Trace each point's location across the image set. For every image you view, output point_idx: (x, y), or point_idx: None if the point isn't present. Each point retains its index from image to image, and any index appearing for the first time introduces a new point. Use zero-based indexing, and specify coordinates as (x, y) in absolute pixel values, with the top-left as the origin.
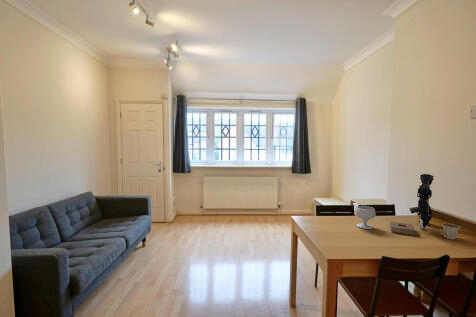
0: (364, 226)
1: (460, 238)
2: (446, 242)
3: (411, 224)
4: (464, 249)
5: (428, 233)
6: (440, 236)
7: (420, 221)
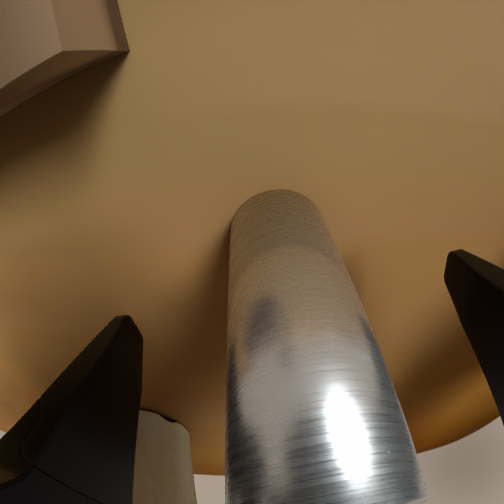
0: None
1: (198, 457)
2: (9, 391)
3: (7, 56)
4: (5, 424)
5: (107, 309)
6: None
7: (280, 337)
